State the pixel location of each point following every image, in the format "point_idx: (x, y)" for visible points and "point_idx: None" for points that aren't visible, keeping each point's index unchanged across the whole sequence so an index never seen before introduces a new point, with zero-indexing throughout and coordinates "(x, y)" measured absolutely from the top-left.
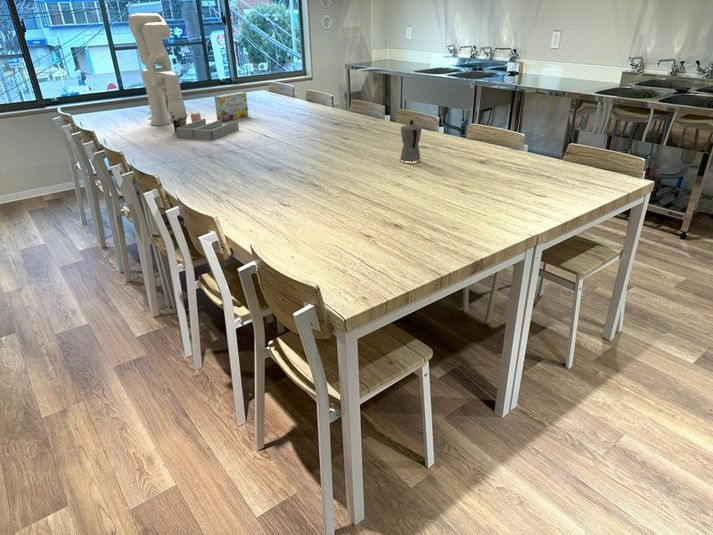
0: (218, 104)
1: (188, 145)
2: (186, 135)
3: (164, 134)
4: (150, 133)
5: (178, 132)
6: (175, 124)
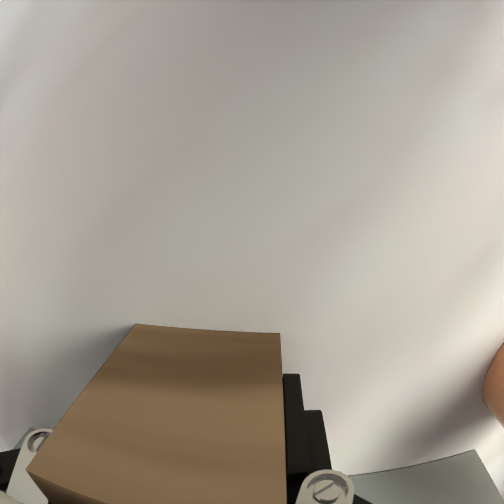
0: None
1: None
2: None
3: (20, 233)
4: (34, 11)
5: None
6: None
